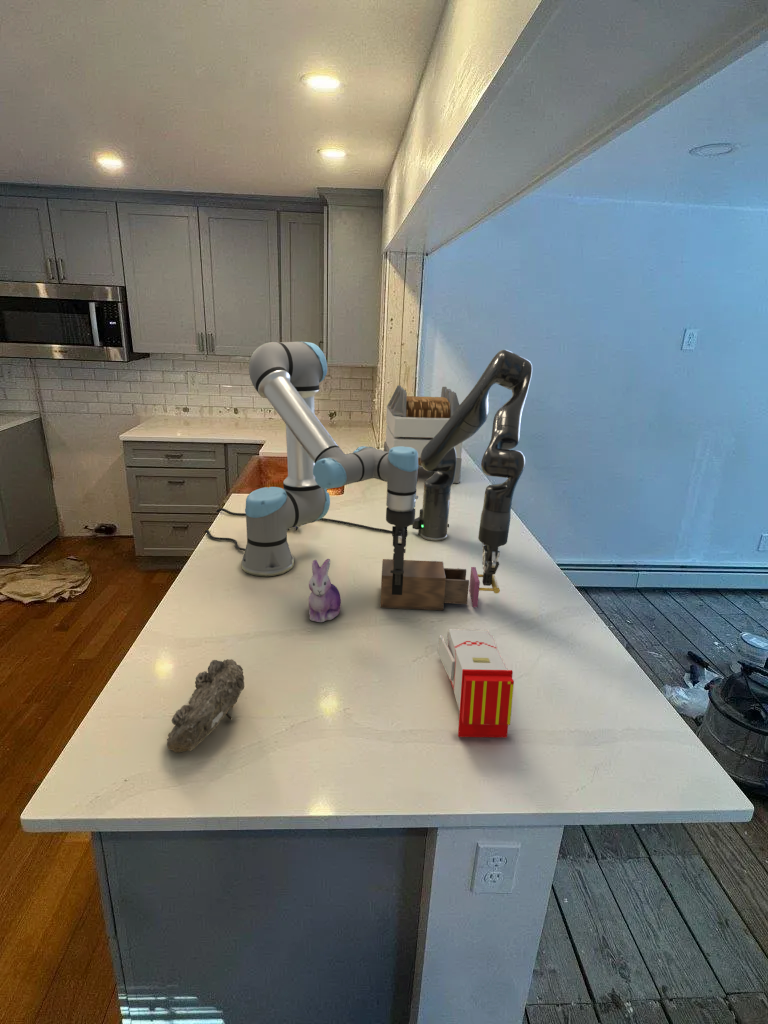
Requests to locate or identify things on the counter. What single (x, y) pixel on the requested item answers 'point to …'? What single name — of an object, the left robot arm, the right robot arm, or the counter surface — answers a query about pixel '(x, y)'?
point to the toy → (478, 682)
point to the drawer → (465, 586)
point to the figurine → (323, 594)
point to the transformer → (419, 421)
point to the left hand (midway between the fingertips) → (397, 584)
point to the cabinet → (414, 585)
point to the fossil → (206, 705)
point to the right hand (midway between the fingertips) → (486, 584)
